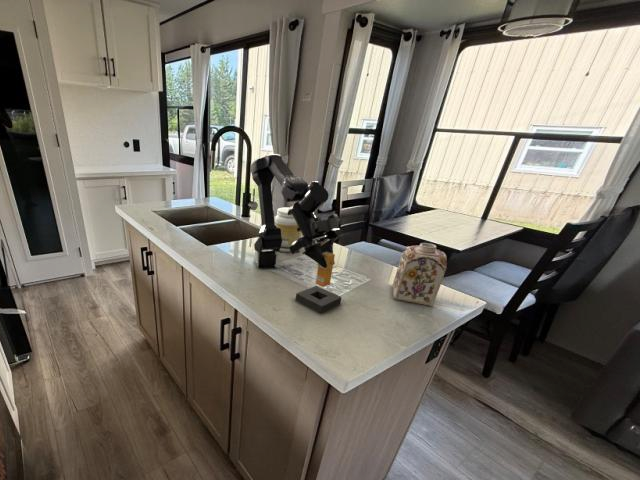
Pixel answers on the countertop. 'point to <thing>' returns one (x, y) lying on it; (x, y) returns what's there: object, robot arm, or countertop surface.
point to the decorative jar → (419, 274)
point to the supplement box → (325, 270)
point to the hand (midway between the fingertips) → (329, 266)
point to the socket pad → (318, 299)
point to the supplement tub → (287, 229)
